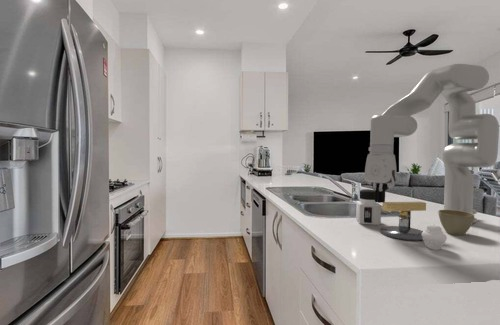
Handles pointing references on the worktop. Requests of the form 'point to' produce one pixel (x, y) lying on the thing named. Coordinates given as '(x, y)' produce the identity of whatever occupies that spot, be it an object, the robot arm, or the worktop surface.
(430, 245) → the white rounded lump
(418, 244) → the worktop surface
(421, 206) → the tan t-shaped block
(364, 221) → the container
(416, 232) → the post base
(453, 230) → the olive brown bowl
